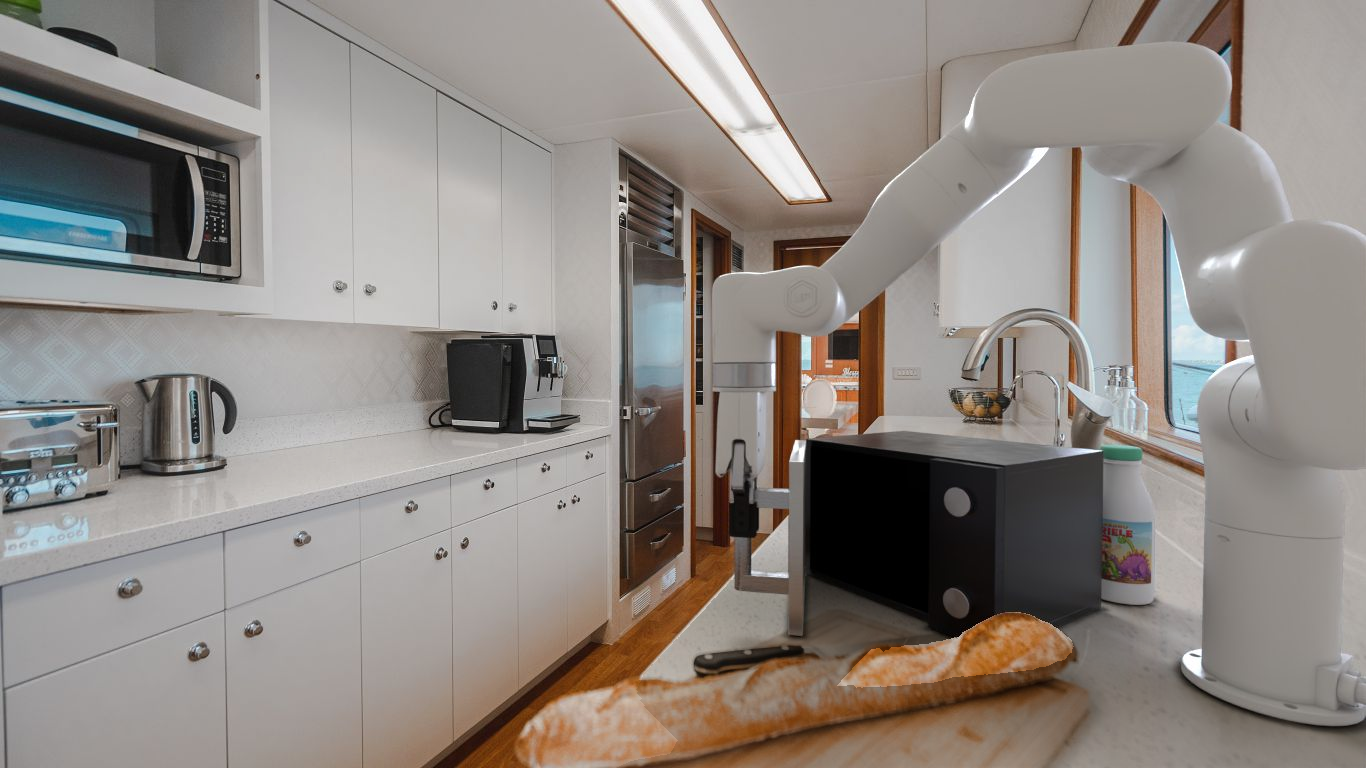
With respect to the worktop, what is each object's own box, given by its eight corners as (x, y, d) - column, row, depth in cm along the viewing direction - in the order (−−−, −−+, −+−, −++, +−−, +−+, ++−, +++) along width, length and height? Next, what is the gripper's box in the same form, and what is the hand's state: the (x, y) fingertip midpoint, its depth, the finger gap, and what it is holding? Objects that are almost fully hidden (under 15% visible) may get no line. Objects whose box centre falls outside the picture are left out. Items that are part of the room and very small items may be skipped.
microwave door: (731, 630, 72) (731, 459, 71) (750, 570, 93) (750, 438, 93) (802, 636, 70) (803, 461, 70) (805, 574, 91) (806, 440, 91)
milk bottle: (1091, 581, 89) (1094, 441, 88) (1159, 595, 83) (1162, 446, 83) (1077, 595, 83) (1079, 446, 83) (1148, 611, 78) (1151, 451, 77)
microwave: (989, 656, 66) (991, 467, 65) (793, 576, 91) (793, 439, 90) (1101, 608, 79) (1103, 450, 78) (902, 550, 104) (903, 430, 103)
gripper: (722, 378, 83) (723, 516, 83) (700, 380, 67) (700, 551, 67) (780, 378, 81) (780, 519, 81) (770, 380, 65) (770, 555, 66)
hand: (744, 532), depth 74 cm, fingers closed, pressing on microwave door
